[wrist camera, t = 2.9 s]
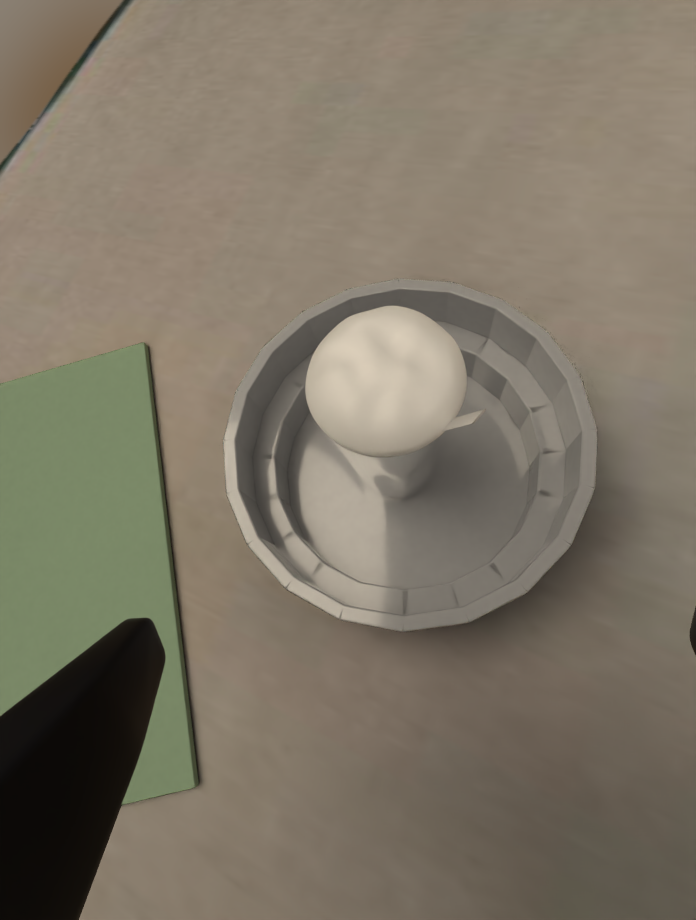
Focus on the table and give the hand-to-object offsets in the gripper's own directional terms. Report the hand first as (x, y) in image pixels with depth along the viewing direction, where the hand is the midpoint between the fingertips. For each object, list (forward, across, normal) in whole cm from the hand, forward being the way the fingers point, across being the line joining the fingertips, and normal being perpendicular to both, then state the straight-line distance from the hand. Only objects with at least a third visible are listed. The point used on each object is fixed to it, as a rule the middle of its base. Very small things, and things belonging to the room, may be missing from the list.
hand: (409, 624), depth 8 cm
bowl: (+13, 0, +4) cm, 14 cm away
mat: (+11, +17, +7) cm, 21 cm away
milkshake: (+13, 0, +4) cm, 14 cm away
